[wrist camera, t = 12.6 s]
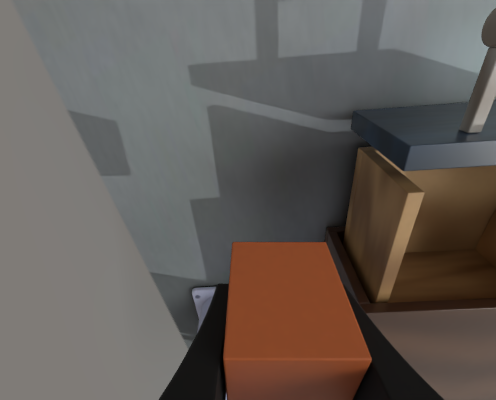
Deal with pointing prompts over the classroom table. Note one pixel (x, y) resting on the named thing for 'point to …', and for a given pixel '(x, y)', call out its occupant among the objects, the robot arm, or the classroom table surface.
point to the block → (290, 325)
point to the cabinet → (433, 333)
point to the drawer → (427, 196)
